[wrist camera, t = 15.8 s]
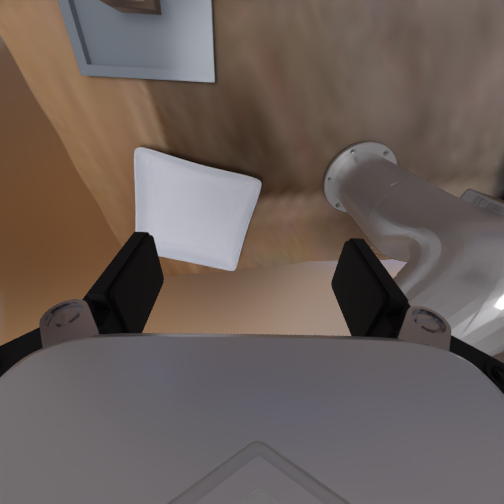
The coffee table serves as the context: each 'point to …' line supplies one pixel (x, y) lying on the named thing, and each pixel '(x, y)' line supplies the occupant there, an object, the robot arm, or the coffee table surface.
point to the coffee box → (484, 201)
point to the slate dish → (143, 40)
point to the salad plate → (193, 208)
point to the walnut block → (135, 6)
